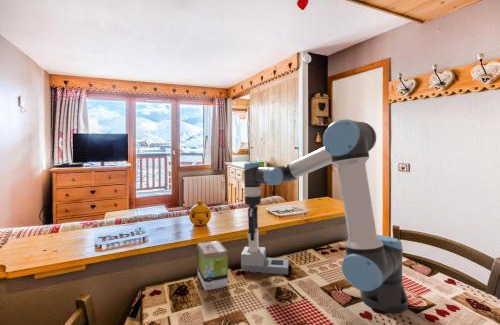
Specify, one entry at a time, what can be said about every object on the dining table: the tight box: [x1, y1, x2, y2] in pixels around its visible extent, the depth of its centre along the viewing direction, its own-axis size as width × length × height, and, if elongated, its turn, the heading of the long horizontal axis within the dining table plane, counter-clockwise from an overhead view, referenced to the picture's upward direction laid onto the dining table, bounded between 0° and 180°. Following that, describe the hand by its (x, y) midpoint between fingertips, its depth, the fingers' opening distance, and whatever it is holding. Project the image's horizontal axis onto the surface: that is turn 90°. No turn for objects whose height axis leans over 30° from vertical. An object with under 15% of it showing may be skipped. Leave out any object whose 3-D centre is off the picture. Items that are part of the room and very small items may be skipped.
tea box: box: [196, 240, 229, 291], centre depth 112 cm, size 15×10×15 cm, turn 22°
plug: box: [246, 227, 260, 253], centre depth 124 cm, size 4×5×12 cm
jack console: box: [240, 246, 290, 275], centre depth 124 cm, size 10×21×8 cm, turn 80°
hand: (253, 245), depth 124 cm, fingers closed on plug, 4 cm apart
